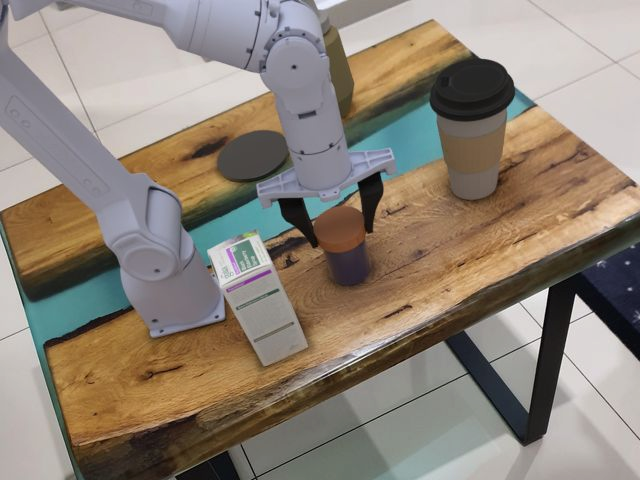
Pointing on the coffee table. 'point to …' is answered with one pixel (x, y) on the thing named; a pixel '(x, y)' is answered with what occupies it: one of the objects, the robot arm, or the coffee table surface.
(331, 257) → the jar
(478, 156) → the coffee cup
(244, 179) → the coaster
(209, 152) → the coffee table surface
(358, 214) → the jar lid
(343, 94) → the squeeze bottle
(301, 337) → the syrup box
